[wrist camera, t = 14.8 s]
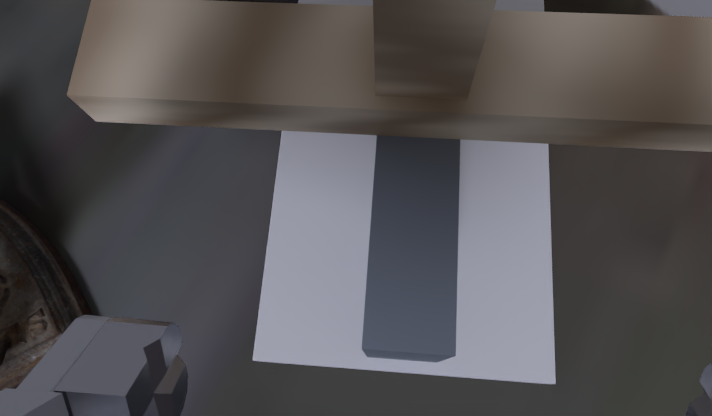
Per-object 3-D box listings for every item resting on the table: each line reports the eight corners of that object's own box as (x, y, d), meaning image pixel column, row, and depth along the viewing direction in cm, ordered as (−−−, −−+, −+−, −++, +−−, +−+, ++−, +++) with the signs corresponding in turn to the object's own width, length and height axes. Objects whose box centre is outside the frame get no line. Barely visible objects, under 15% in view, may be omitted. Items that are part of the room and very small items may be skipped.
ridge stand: (545, 383, 25) (618, 385, 17) (259, 361, 25) (207, 352, 18) (536, 7, 31) (586, -118, 23) (304, -1, 31) (279, -123, 24)
